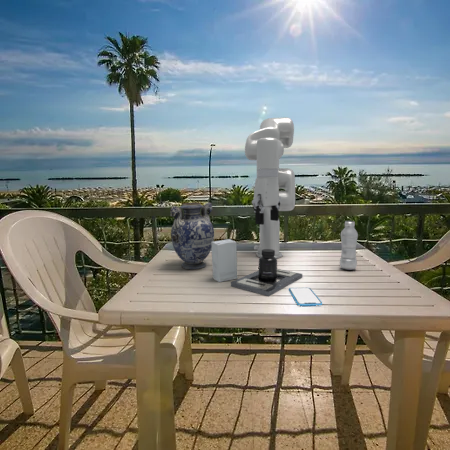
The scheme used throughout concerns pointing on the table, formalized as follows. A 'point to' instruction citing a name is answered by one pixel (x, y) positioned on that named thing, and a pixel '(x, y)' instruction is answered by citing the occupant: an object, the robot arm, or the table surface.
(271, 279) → the supplement bottle
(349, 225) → the plastic bottle
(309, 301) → the smartphone
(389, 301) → the table surface
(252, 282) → the label panel
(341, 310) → the table surface
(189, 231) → the decorative vase
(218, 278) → the skincare box
